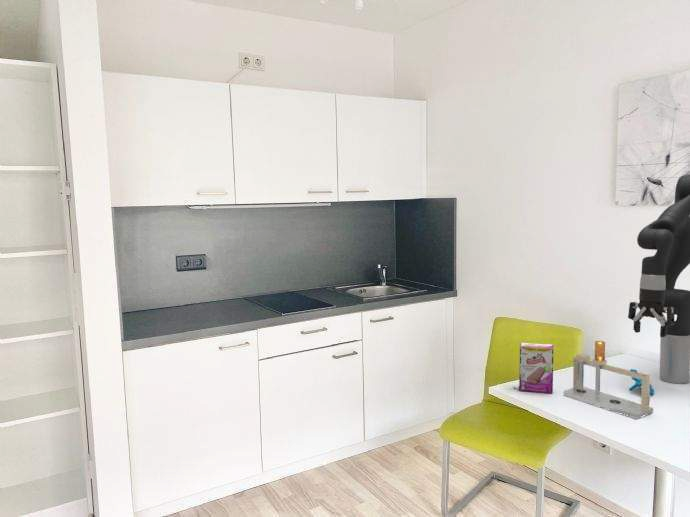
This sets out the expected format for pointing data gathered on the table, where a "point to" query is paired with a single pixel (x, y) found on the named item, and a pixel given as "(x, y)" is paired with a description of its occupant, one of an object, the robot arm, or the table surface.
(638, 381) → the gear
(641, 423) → the table surface
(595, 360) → the cylinder
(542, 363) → the candy bar box
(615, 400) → the divider frame
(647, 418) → the table surface
